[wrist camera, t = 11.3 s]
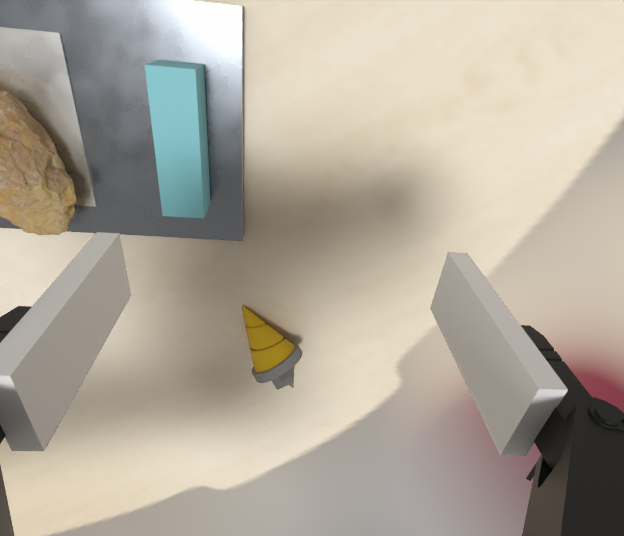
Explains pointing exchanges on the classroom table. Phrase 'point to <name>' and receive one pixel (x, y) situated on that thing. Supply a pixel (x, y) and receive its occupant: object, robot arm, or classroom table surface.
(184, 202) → the bar
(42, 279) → the classroom table surface
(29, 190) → the stone tool
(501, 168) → the classroom table surface
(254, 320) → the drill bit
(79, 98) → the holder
